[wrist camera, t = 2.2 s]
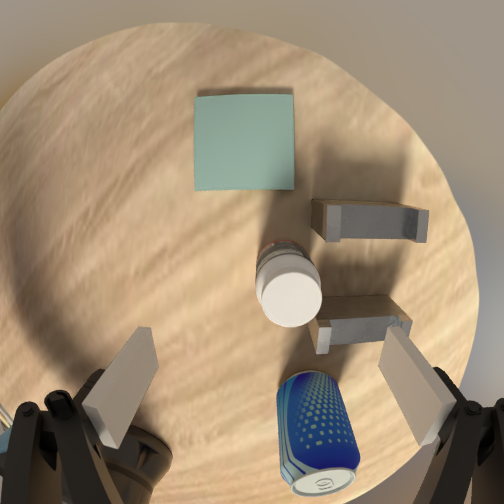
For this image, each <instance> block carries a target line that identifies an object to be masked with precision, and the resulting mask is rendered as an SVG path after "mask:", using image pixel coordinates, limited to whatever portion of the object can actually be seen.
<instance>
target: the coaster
mask: <svg viewBox="0 0 504 504" xmlns="http://www.w3.org/2000/svg"><path fill="white" fill-rule="evenodd" d="M194 178H195V191H206V190H256V189H277V190H294V120H293V95H291V94H237V95H217V96H204V97H195V102H194Z"/></svg>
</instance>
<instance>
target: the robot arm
mask: <svg viewBox="0 0 504 504" xmlns="http://www.w3.org/2000/svg"><path fill="white" fill-rule="evenodd" d="M378 367H379V368H380V370H381V372H382V374H383V376H384V378H385V380H386V381H387V383H388V385H389V387H390V389H391V391H392V393H393V395H394V397H395V399H396V401H397V403H398V404H399V406H400V408H401V410H402V412H403V414H404V416H405V418H406V420H407V422H408V424H409V426H410V428H411V431H412V433H413V435H414V437H415V439H416V441H417V443H418V445H419V446H423V445H426V444H429V443H432V442H433V441H434V439H435V438H436V436H437V435H439V437H440V439H441V440H440V441H439V443H438V444H437V446H436V447H435V449H434V450H433V452H432V454H434V456H433V459H432V461H431V464H430V466H429V469H428V472H427V474H426V476H425V479H424V481H423V483H422V485H421V487H420V490H419V492H418V494H417V496H416V498H415V500H414V502H413V504H464V500H465V498H466V494H467V491H468V488H469V484H470V481H471V477H472V497H471V504H504V398H500V399H499V400H497V402H496V404H495V405H494V407H486V408H483V407H482V406H481V405H480V404H479V403H478V402H475V401H470V400H469V401H467V400H466V399H465V397H464V396H463V395H462V393H461V392H460V391H459V389H458V388H457V387H456V385H455V384H453V382H452V380H451V379H450V378H449V376H448V375H447V374H446V373H445V371H443V370H442V369H440V368H439V367H433V368H432V367H431V365H430V364H429V363H428V361H427V360H426V359H425V358H424V356H423V355H422V354H421V352H420V351H419V350H418V349H417V347H416V346H415V345H414V344H413V342H412V341H411V340H410V339H409V337H408V336H407V335H406V334H405V332H404V331H403V330H402V329H401V327H400V326H393V327H388V328H387V332H386V337H385V341H384V345H383V349H382V353H381V357H380V361H379V365H378ZM158 368H159V365H158V360H157V356H156V351H155V346H154V341H153V336H152V331H151V328H150V327H138V328H137V329H136V331H135V332H134V333H133V335H132V336H131V337H130V338H129V340H128V341H127V342H126V344H125V345H124V346H123V348H122V349H121V350H120V352H119V353H118V354H117V356H116V357H115V358H114V360H113V361H112V362H111V364H110V365H109V366H108V368H107V369H106V370H103V369H99V370H97V371H96V372H94V373H93V374H92V375H91V376H90V377H89V379H88V380H87V382H86V383H85V384H84V385H83V387H82V388H81V389H80V390H79V392H78V393H77V394H76V396H75V397H74V398H73V400H72V398H71V396H70V394H69V393H68V392H67V391H64V390H55V391H53V392H51V393H49V394H48V395H47V396H46V397H45V400H44V403H45V405H46V407H47V409H48V411H41V410H40V409H39V407H38V405H37V404H36V403H34V402H30V401H29V402H25V403H22V404H21V405H20V406H19V407H18V408H17V410H16V413H15V417H14V421H13V425H12V426H11V427H10V428H8V429H7V430H6V431H5V432H4V433H3V434H2V435H0V504H149V502H150V498H151V495H152V492H153V489H154V487H155V486H156V485H157V483H158V482H159V481H160V480H161V479H162V478H163V476H164V475H165V474H166V473H167V472H168V470H169V469H170V466H171V462H172V454H171V452H170V451H169V449H168V448H167V447H166V446H165V445H164V444H163V443H162V442H161V441H160V440H158V439H157V438H155V437H154V436H152V435H151V434H149V433H147V432H145V431H143V430H141V429H139V428H136V427H134V426H131V425H130V423H131V421H132V419H133V417H134V415H135V413H136V411H137V409H138V407H139V405H140V403H141V401H142V399H143V397H144V395H145V393H146V391H147V389H148V387H149V385H150V383H151V381H152V379H153V377H154V375H155V373H156V371H157V369H158ZM434 452H435V453H434Z"/></svg>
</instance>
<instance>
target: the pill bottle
mask: <svg viewBox="0 0 504 504" xmlns="http://www.w3.org/2000/svg"><path fill="white" fill-rule="evenodd" d="M255 289H256V295H257V298H258V300H259V302H260V304H261V305H262V307H263V311H264V313H265V314H266V316H267V317H268V318H269V319H270V320H271V321H272V322H274V323H275V324H277V325H280V326H283V327H297V326H301V325H303V324H305V323H307V322H309V321H310V320H312V319H313V318H314V317H315V315H316V314H317V313H318V311H319V309H320V307H321V303H322V292H321V280H320V276H319V273H318V271H317V269H316V267H315V266H314V264H313V262H312V261H311V259H310V258H309V256H308V254H307V253H306V251H305V250H304V249H303V248H302V247H301V246H300V245H299V244H297V243H296V242H294V241H291V240H284V239H282V240H276V241H273V242H271V243H269V244H268V245H266V246H265V247H264V248H263V249H262V250H261V252H260V253H259V256H258V258H257V262H256V281H255Z"/></svg>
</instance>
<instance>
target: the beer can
mask: <svg viewBox="0 0 504 504" xmlns="http://www.w3.org/2000/svg"><path fill="white" fill-rule="evenodd" d="M277 416H278V435H279V455H280V473H281V476H282V477H283V479H284V480H285V481H286V482H287V483H288V484H289V485H290V489H291V491H292V492H293V493H294V494H296V495H298V496H303V497H320V496H326V495H330V494H333V493H336V492H339V491H341V490H343V489H345V488H347V487H348V486H350V485H351V484H352V483H353V482H354V481H355V479H356V473H355V472H356V470H357V467H358V465H359V462H360V453H359V450H358V447H357V443H356V440H355V437H354V434H353V430H352V427H351V424H350V421H349V418H348V415H347V412H346V408H345V405H344V402H343V399H342V396H341V393H340V390H339V387H338V384H337V382H336V381H335V379H334V378H333V377H331V376H330V375H328V374H325V373H322V372H320V371H315V370H307V371H302V372H298V373H296V374H294V375H292V376H291V377H289V378H288V379H287V380H286V381H285V382H284V383H283V384H282V385H281V386H280V388H279V389H278V392H277Z"/></svg>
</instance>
